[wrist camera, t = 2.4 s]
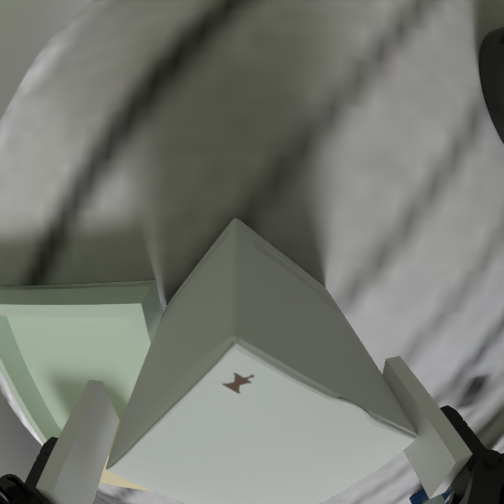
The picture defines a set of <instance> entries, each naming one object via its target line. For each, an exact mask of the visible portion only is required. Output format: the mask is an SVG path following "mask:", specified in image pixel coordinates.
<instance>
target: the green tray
mask: <svg viewBox="0 0 504 504" xmlns="http://www.w3.org/2000/svg"><path fill="white" fill-rule="evenodd" d="M161 318H162V310H161V305H160V300H159V295H158V289H157V284H156V280H145V281H126V282H106V283H84V284H60V285H32V286H0V370H1V372H2V374H3V376H4V378H5V380H6V382H7V384H8V386H9V388H10V390H11V391H12V393H13V395H14V397H15V399H16V400H17V402H18V404H19V406H20V407H21V409H22V411H23V412H24V414H25V416H26V417H27V419H28V421H29V422H30V424H31V425H32V427H33V429H34V430H35V432H36V433H37V435H38V436H39V438H40V439H41V440H42V442H43V443H45V442H46V441H47V440H48V439H49V438H51V437H56V438H59V436H60V434H61V432H62V430H63V428H64V426H65V424H66V422H67V420H68V418H69V416H70V414H71V413H72V411H73V409H74V407H75V405H76V403H77V401H78V399H79V397H80V395H81V394H82V392H83V390H84V388H85V386H86V384H87V383H88V381H89V380H97V381H103V383H104V385H105V388H106V390H107V393H108V395H109V398H110V400H111V402H112V405H113V407H114V409H115V411H116V413H117V416H118V418H121V419H123V416H124V413H125V410H126V408H127V405H128V402H129V400H130V397H131V394H132V392H133V389H134V386H135V384H136V381H137V378H138V376H139V373H140V371H141V368H142V365H143V363H144V360H145V358H146V355H147V353H148V350H149V348H150V345H151V343H152V340H153V338H154V335H155V333H156V330H157V328H158V325H159V323H160V321H161Z"/></svg>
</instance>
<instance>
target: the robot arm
mask: <svg viewBox="0 0 504 504" xmlns="http://www.w3.org/2000/svg"><path fill="white" fill-rule="evenodd" d="M480 71H481V79H482V85H483V90H484V95H485V99H486V102H487V106H488V109H489V112H490V115H491V118H492V120H493V123H494V125H495V128H496V130H497V132H498V134H499V136H500V138H501V140H502V142H503V143H504V27H503V28H500V29H497V30H494V31H492V32H490V33H489V34H488V35H487V36H486V37H485V39H484V41H483V44H482V48H481V54H480ZM383 377H384V378H385V380H386V382H387V383H388V385H389V387H390V388H391V390H392V391H393V393H394V395H395V396H396V398H397V400H398V401H399V403H400V404H401V406H402V408H403V409H404V411H405V413H406V414H407V416H408V418H409V420H410V421H411V423H412V425H413V427H414V429H415V431H416V432H417V435H418V436H417V438H416V439H415V441H414V442H413V443H411V444H410V445H409V446H408V447H407V448H405V449H404V452H405V453H406V455H407V457H408V459H409V461H410V463H411V465H412V467H413V469H414V470H415V472H416V474H417V476H418V478H419V480H420V482H421V484H422V486H423V488H424V490H425V492H426V494H427V495H428V497H429V499H431V498H433V497H435V496H437V495H440V494H442V493H444V492H445V491H446V490H447V489H448V487H449V486H450V485H451V486H452V488H453V491H452V492H451V493H450V494H449V495H448V497H447V498H446V499H445V501H444V502H445V503H446V502H447V501H448V500H449V502H448V504H504V453H503V454H500V453H499V452H497V451H494V450H487V449H486V448H485V447H484V446H483V445H482V443H481V442H480V440H479V439H478V438H477V436H476V435H475V434H474V432H473V431H472V430H471V429H470V427H468V425H467V423H466V422H465V421H463V418H462V417H461V415H460V414H459V413H458V412H457V411H456V410H455V409H453V408H452V407H450V406H448V405H447V406H444V407H442V408H439V407H438V405H437V404H436V403H435V401H434V400H433V399H432V397H431V396H430V395H429V393H428V392H427V391H426V389H425V388H424V387H423V385H422V384H421V383H420V381H419V380H418V379H417V378H416V376H415V375H414V374H413V372H412V371H411V370H410V369H409V367H408V366H407V365H406V363H405V362H404V361H403V360H402V358H401V357H400V356H397V357H393V358H388V359H386V361H385V366H384V370H383ZM119 422H120V420H119V418H118V416H117V413H116V411H115V409H114V407H113V405H112V402H111V400H110V398H109V395H108V393H107V390H106V388H105V385H104V383H103V381H97V380H89V381H88V383H87V384H86V386H85V388H84V390H83V392H82V394H81V395H80V397H79V399H78V401H77V403H76V405H75V407H74V409H73V411H72V413H71V414H70V416H69V418H68V420H67V422H66V424H65V426H64V428H63V430H62V432H61V434H60V436H59V438H56V437H51V438H49V439H48V440H47V441H46V442H45V443H44V445H43V447H42V449H41V450H40V454H39V455H38V457H37V459H36V461H35V463H34V465H33V467H32V469H31V471H30V473H29V475H28V477H27V479H26V482H25V484H24V483H23V482H22V481H21V479H20V478H18V477H17V476H16V475H12V474H7V475H4V476H2V477H1V478H0V504H93V502H94V498H95V495H96V492H97V488H98V485H99V482H100V479H101V475H102V472H103V469H104V466H105V463H106V460H107V457H108V454H109V451H110V448H111V445H112V442H113V439H114V436H115V433H116V430H117V427H118V424H119Z"/></svg>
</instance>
